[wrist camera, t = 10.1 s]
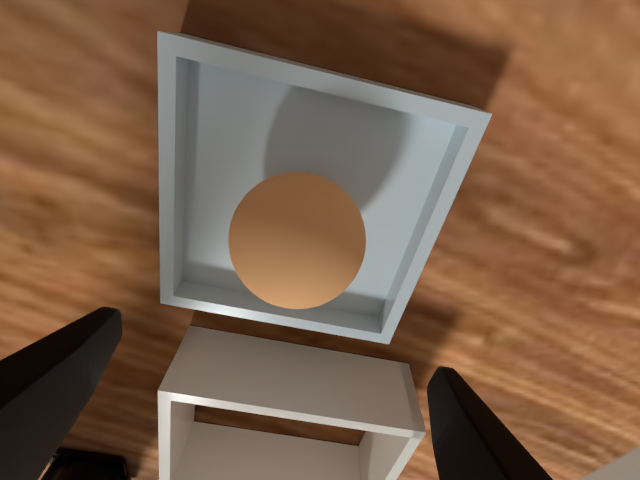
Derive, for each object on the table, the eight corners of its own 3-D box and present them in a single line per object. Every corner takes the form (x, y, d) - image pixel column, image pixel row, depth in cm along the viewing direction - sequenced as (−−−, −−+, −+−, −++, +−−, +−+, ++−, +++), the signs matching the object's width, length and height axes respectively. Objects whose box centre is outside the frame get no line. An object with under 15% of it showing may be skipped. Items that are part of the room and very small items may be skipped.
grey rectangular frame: (185, 425, 29) (159, 493, 24) (189, 325, 23) (157, 390, 19) (364, 451, 30) (369, 520, 26) (408, 363, 24) (426, 432, 20)
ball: (238, 249, 19) (206, 326, 14) (250, 142, 16) (216, 189, 11) (343, 269, 20) (350, 350, 14) (373, 169, 17) (396, 225, 12)
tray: (175, 280, 21) (160, 303, 19) (179, 32, 15) (157, 30, 13) (383, 318, 22) (388, 344, 21) (472, 105, 16) (492, 114, 14)
